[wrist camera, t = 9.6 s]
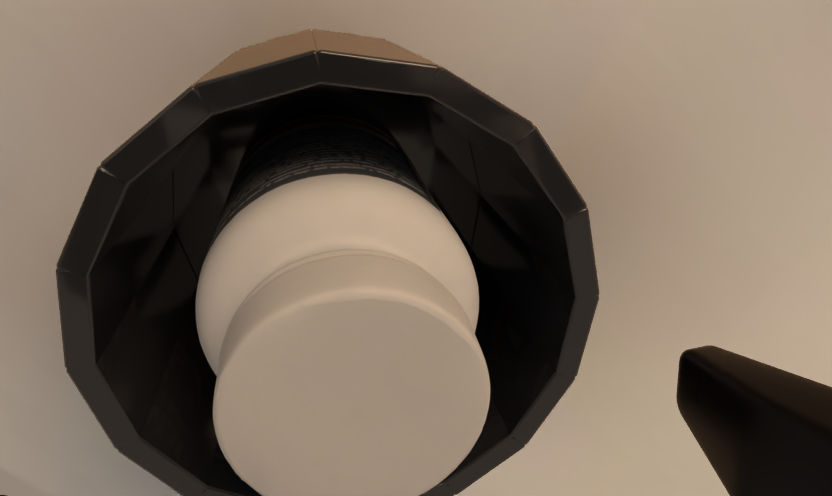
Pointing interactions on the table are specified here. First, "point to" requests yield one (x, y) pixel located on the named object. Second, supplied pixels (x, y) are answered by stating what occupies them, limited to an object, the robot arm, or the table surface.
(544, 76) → the table surface
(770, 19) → the table surface
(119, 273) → the pen holder
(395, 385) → the pill bottle
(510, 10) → the table surface
